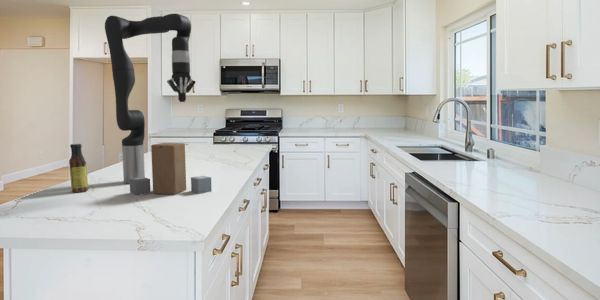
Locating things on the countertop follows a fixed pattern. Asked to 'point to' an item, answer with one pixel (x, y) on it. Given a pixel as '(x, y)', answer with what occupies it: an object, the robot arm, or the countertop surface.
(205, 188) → the slate marked block
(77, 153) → the sauce bottle
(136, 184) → the charcoal marked block
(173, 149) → the wooden block
